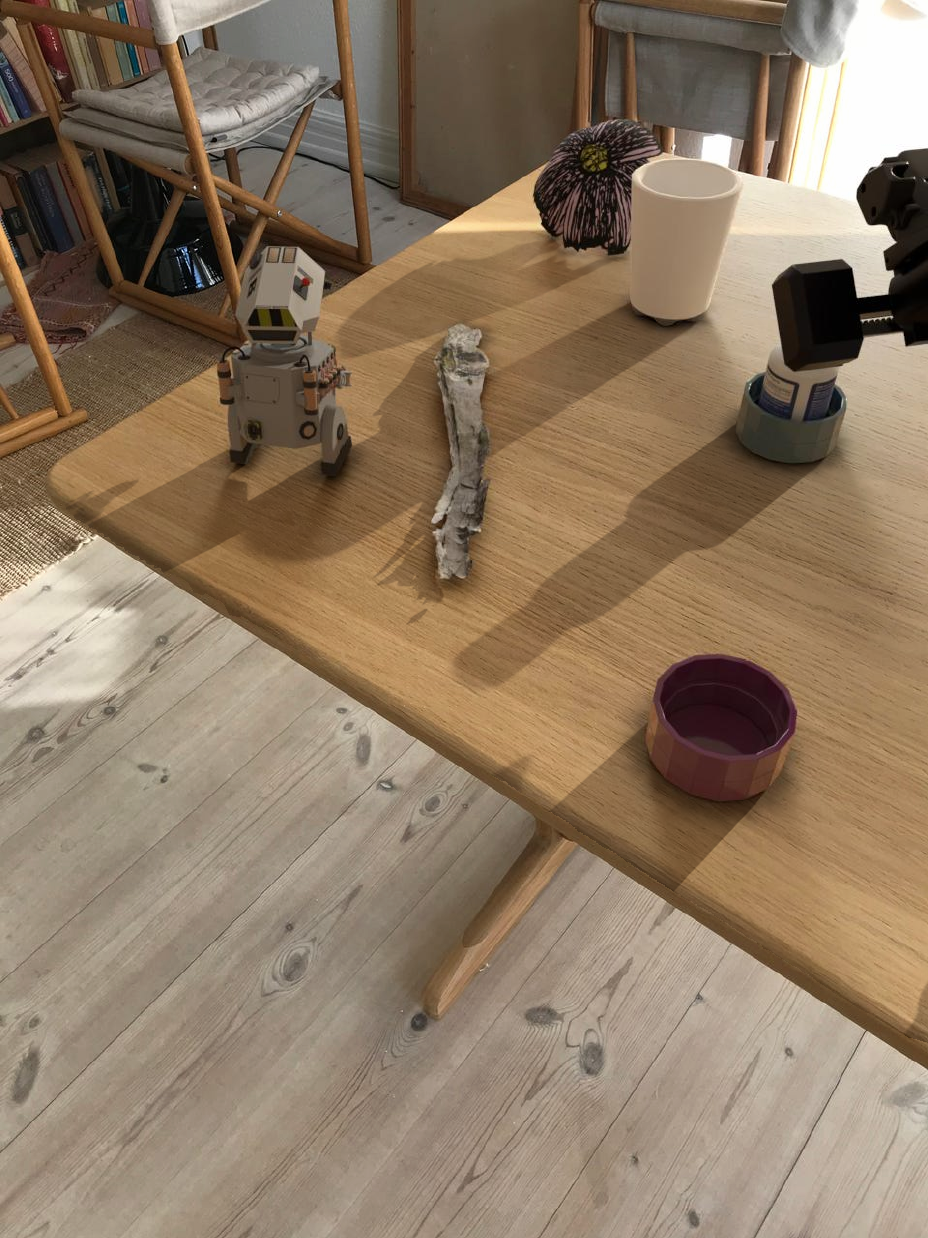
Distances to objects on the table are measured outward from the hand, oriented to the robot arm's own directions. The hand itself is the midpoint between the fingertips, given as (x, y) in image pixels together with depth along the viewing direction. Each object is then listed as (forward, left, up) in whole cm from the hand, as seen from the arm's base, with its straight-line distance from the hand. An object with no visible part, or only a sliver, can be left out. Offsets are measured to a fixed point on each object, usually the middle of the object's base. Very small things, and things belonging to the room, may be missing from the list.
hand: (851, 341), depth 72 cm
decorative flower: (+27, -39, -12) cm, 49 cm away
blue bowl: (+3, -4, -11) cm, 13 cm away
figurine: (+41, +9, -12) cm, 43 cm away
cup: (+16, -23, -12) cm, 30 cm away
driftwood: (+28, +4, -12) cm, 31 cm away
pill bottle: (+3, -4, -11) cm, 13 cm away
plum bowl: (+4, +30, -11) cm, 32 cm away
